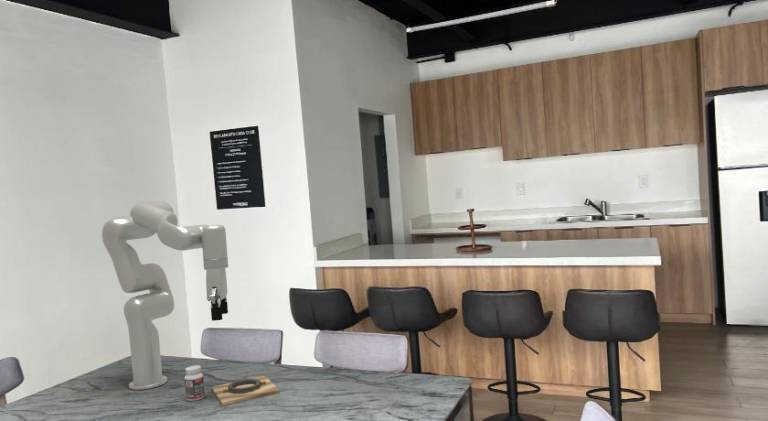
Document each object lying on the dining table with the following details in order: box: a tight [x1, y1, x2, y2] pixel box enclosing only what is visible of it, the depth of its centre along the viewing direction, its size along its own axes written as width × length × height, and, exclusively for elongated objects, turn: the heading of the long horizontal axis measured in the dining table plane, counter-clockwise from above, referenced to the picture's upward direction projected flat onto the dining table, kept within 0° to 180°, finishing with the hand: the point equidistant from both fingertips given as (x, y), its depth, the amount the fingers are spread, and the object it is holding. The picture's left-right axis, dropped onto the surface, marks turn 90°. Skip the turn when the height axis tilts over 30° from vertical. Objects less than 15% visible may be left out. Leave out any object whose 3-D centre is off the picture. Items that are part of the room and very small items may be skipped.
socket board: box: [211, 375, 281, 407], centre depth 187 cm, size 18×18×2 cm
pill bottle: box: [184, 364, 206, 402], centre depth 184 cm, size 6×6×10 cm
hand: (220, 316), depth 184 cm, fingers open, 9 cm apart
